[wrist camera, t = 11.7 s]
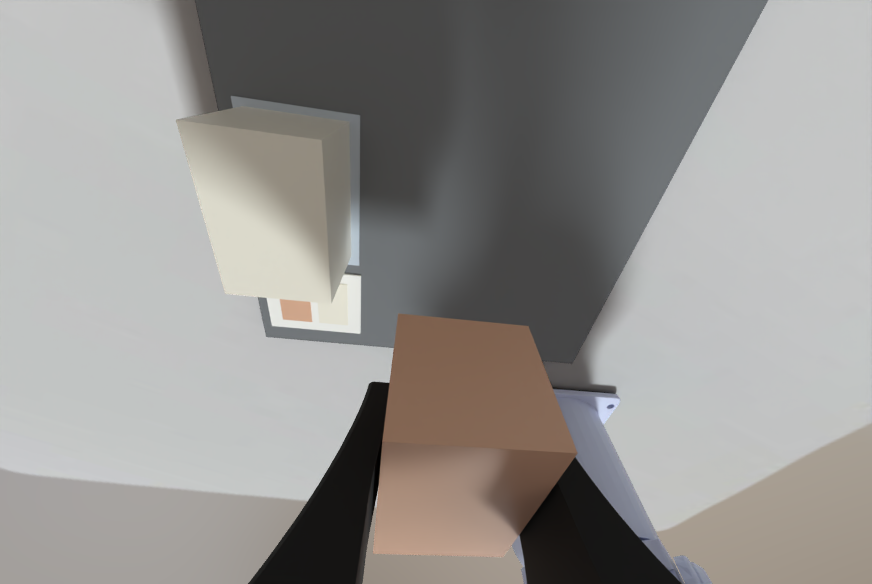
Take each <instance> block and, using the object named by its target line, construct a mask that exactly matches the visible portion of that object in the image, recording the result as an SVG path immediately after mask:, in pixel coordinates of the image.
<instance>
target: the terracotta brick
mask: <svg viewBox="0 0 872 584" xmlns="http://www.w3.org/2000/svg"><path fill="white" fill-rule="evenodd" d="M577 454H578V453H577V450H576V448H575V445H574V442H573V440H572V437H571V435H570V432H569V430H568V427H567V424H566V422H565V419H564V417H563V414H562V411H561V409H560V406H559V404H558V401H557V399H556V396H555V393H554V391H553V388H552V386H551V383H550V381H549V378H548V375H547V373H546V370H545V368H544V365H543V362H542V360H541V357H540V355H539V352H538V350H537V347H536V344H535V342H534V339H533V337H532V334H531V332H530V329H529V326H523V325H512V324H502V323H492V322H481V321H471V320H461V319H450V318H440V317H430V316H420V315H409V314H399V313H398V319H397V327H396V335H395V343H394V352H393V360H392V368H391V376H390V384H389V392H388V400H387V408H386V416H385V425H384V433H383V441H382V452H381V465H380V477H379V489H378V501H377V514H376V526H375V538H374V551H373V553H374V554H405V555H406V554H407V555H442V556H480V557H481V556H482V557H504V555H505V554H506V553H507V551H508V550H509V548H510V547H511V546H512V544H513V543H514V542H515V540H516V539H517V537H518V536H519V535H520V533H521V532H522V530H523V529H524V528H525V526H526V525H527V523H528V522H529V521H530V519H531V518H532V516H533V515H534V514H535V512H536V511H537V509H538V508H539V507H540V505H541V504H542V502H543V501H544V500H545V498H546V497H547V495H548V494H549V493H550V491H551V490H552V488H553V487H554V486H555V484H556V483H557V481H558V480H559V479H560V477H561V476H562V474H563V473H564V472H565V470H566V469H567V467H568V466H569V465H570V463H571V462H572V461H573V459H574V458H575V456H576V455H577Z"/></svg>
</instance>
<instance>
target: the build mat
mask: <svg viewBox="0 0 872 584" xmlns="http://www.w3.org/2000/svg"><path fill="white" fill-rule="evenodd" d="M767 1H768V0H195V2H196V7H197V11H198V16H199V21H200V26H201V30H202V35H203V40H204V45H205V49H206V54H207V59H208V64H209V68H210V73H211V78H212V82H213V87H214V92H215V97H216V101H217V106H218V111H222V110H227V109H231V108H236V107H241V106H246V107H253V108H259V109H266V110H273V111H280V112H287V113H294V114H301V115H308V116H314V117H321V118H328V119H335V120H342V121H349V124H350V193H351V258H350V260H349V263H348V265H347V268H346V270H345V273H344V275H343V277H342V280H341V282H340V285H339V287H338V289H337V292H336V294H335V297H334V299H333V302H332V304H326V303H316V302H305V301H295V300H284V299H274V298H263V297H258V300H259V305H260V310H261V314H262V319H263V324H264V328H265V333H266V337H274V338H285V339H297V340H308V341H320V342H331V343H343V344H354V345H366V346H377V347H389V348H394V343H395V335H396V327H397V319H398V313H399V314H409V315H420V316H430V317H440V318H450V319H461V320H471V321H481V322H492V323H502V324H512V325H523V326H529V329H530V332H531V334H532V337H533V339H534V342H535V344H536V347H537V350H538V352H539V355H540V357H541V360H542V361H550V362H561V363H573V361H574V359H575V357H576V356H577V354H578V352H579V350H580V348H581V346H582V344H583V343H584V341H585V339H586V337H587V335H588V333H589V331H590V330H591V328H592V326H593V324H594V322H595V320H596V318H597V317H598V315H599V313H600V311H601V309H602V307H603V306H604V304H605V302H606V300H607V298H608V296H609V294H610V293H611V291H612V289H613V287H614V285H615V283H616V281H617V280H618V278H619V276H620V274H621V272H622V270H623V268H624V267H625V265H626V263H627V261H628V259H629V257H630V255H631V254H632V252H633V250H634V248H635V246H636V244H637V242H638V241H639V239H640V237H641V235H642V233H643V231H644V229H645V228H646V226H647V224H648V222H649V220H650V218H651V217H652V215H653V213H654V211H655V209H656V207H657V205H658V204H659V202H660V200H661V198H662V196H663V194H664V192H665V191H666V189H667V187H668V185H669V183H670V181H671V179H672V178H673V176H674V174H675V172H676V170H677V168H678V166H679V165H680V163H681V161H682V159H683V157H684V155H685V153H686V152H687V150H688V148H689V146H690V144H691V142H692V140H693V139H694V137H695V135H696V133H697V131H698V129H699V128H700V126H701V124H702V122H703V120H704V118H705V116H706V115H707V113H708V111H709V109H710V107H711V105H712V103H713V102H714V100H715V98H716V96H717V94H718V92H719V90H720V89H721V87H722V85H723V83H724V81H725V79H726V77H727V76H728V74H729V72H730V70H731V68H732V66H733V64H734V63H735V61H736V59H737V57H738V55H739V53H740V51H741V50H742V48H743V46H744V44H745V42H746V40H747V39H748V37H749V35H750V33H751V31H752V29H753V27H754V26H755V24H756V22H757V20H758V18H759V16H760V14H761V13H762V11H763V9H764V7H765V5H766V3H767Z"/></svg>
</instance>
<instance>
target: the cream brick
mask: <svg viewBox="0 0 872 584" xmlns="http://www.w3.org/2000/svg"><path fill="white" fill-rule="evenodd" d="M176 122H177V126H178V129H179V133H180V136H181V140H182V143H183V147H184V150H185V154H186V157H187V161H188V164H189V168H190V171H191V175H192V179H193V182H194V186H195V189H196V193H197V196H198V200H199V203H200V207H201V210H202V214H203V217H204V221H205V224H206V228H207V231H208V235H209V238H210V242H211V245H212V249H213V252H214V256H215V259H216V263H217V266H218V270H219V273H220V277H221V281H222V284H223V288H224V291H225V294H232V295H242V296H253V297H263V298H274V299H284V300H295V301H305V302H316V303H326V304H332V302H333V299H334V297H335V294H336V292H337V289H338V287H339V285H340V282H341V280H342V277H343V275H344V273H345V270H346V268H347V265H348V263H349V260H350V258H351V193H350V124H349V121H342V120H335V119H328V118H321V117H314V116H308V115H301V114H294V113H287V112H280V111H273V110H266V109H259V108H253V107H246V106H241V107H236V108H231V109H227V110H222V111H217V112H212V113H207V114H202V115H197V116H192V117H187V118H182V119H177V120H176Z"/></svg>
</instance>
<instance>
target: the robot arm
mask: <svg viewBox="0 0 872 584" xmlns="http://www.w3.org/2000/svg"><path fill="white" fill-rule="evenodd" d="M389 384H390V383H383V382H371V383H370V384H369V386H368V389H367V392H366V395H365V398H364V400H363V403H362V405H361V407H360V410H359V412H358V414H357V416H356V418H355V421H354V423H353V425H352V427H351V428H350V430H349V432H348V434H347V436H346V438H345V440H344V442H343V444H342V446H341V448H340V449H339V451H338V453H337V455H336V456H335V458H334V460H333V461H332V463H331V465H330V467H329V468H328V470H327V472H326V473H325V475H324V477H323V478H322V480H321V482H320V483H319V485H318V486H317V488H316V490H315V491H314V493H313V494H312V496H311V497H310V499H309V500H308V502H307V503H306V505H305V506H304V508H303V509H302V511H301V513H300V514H299V515H298V517H297V518H296V520H295V521H294V523H293V524H292V525H291V527H290V528H289V530H288V531H287V532H286V534H285V535H284V537H283V538H282V540H281V541H280V542H279V544H278V545H277V546H276V548H275V549H274V550H273V552H272V553H271V555H270V556H269V557H268V559H267V560H266V561H265V563H264V564H263V565H262V567H261V568H260V569H259V570H258V572H257V573H256V574H255V576H254V577H253V578H252V580H251V581H250V582H249V583H248V584H362V582H363V574H364V565H365V557H366V550H367V544H368V538H369V532H370V527H371V522H372V516H373V511H374V506H375V501H376V496H377V491H378V486H379V477H380V465H381V452H382V441H383V433H384V425H385V416H386V408H387V400H388V392H389ZM553 391H554V393H555V396H556V399H557V401H558V404H559V406H560V409H561V411H562V414H563V417H564V419H565V422H566V424H567V427H568V430H569V432H570V435H571V437H572V440H573V442H574V445H575V448H576V450H577V453H578V454H577V455H576V456H575V458H574V459H573V461H572V462H571V463H570V465H569V466H568V467H567V469H566V470H565V472H564V473H563V474H562V476H561V477H560V479H559V480H558V481H557V483H556V484H555V486H554V487H553V488H552V490H551V491H550V493H549V494H548V495H547V497H546V498H545V500H544V501H543V502H542V504H541V505H540V507H539V508H538V509H537V511H536V512H535V514H534V515H533V516H532V518H531V519H530V521H529V522H528V523H527V525H526V526H525V528H524V529H523V530H522V532H521V533H520V535H519V536H518V537H517V539H516V540H515V542H514V543H513V544H512V547H513V550H514V552H515V554H516V556H517V558H518V559H519V561H520V562H521V564H522V565H523V568H522V569H521V571H522V575H523V582H524V584H684V582H685V584H712V582H711V580H710V579H709V577H708V575H707V573H706V572H705V570H704V569H703V568H702V567H700V566H698V565H697V564H695V563H694V562H690V561H689V559H688V558H687V557H686V556H677V557H674V560H675V563H676V565H677V567H678V569H679V571H680V573H681V576H682V578H683V580H684V582H683V580H682V578H681V576H680V574H679V572H678V570H677V568H676V566H675V564H674V562H673V560H672V559H671V557H670V555H669V554H668V552H667V551H666V549H665V547H664V546H663V544H662V543H661V541H660V539H659V538H658V536H657V534H656V531H655V529H654V527H653V525H652V523H651V521H650V519H649V517H648V515H647V513H646V511H645V509H644V507H643V505H642V503H641V501H640V499H639V497H638V495H637V493H636V491H635V489H634V487H633V484H632V482H631V480H630V478H629V476H628V474H627V472H626V470H625V468H624V466H623V464H622V462H621V460H620V458H619V456H618V454H617V452H616V450H615V448H614V446H613V444H612V442H611V440H610V437H609V435H608V433H607V431H606V429H605V427H604V423H605V422H606V421H607V419H608V418H609V417H610V415H611V414H612V412H613V411H614V410H615V408H616V407H617V406H618V404H619V403H620V398H619V396H618V395H617V394H610V393H598V392H585V391H572V390H559V389H553Z"/></svg>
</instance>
